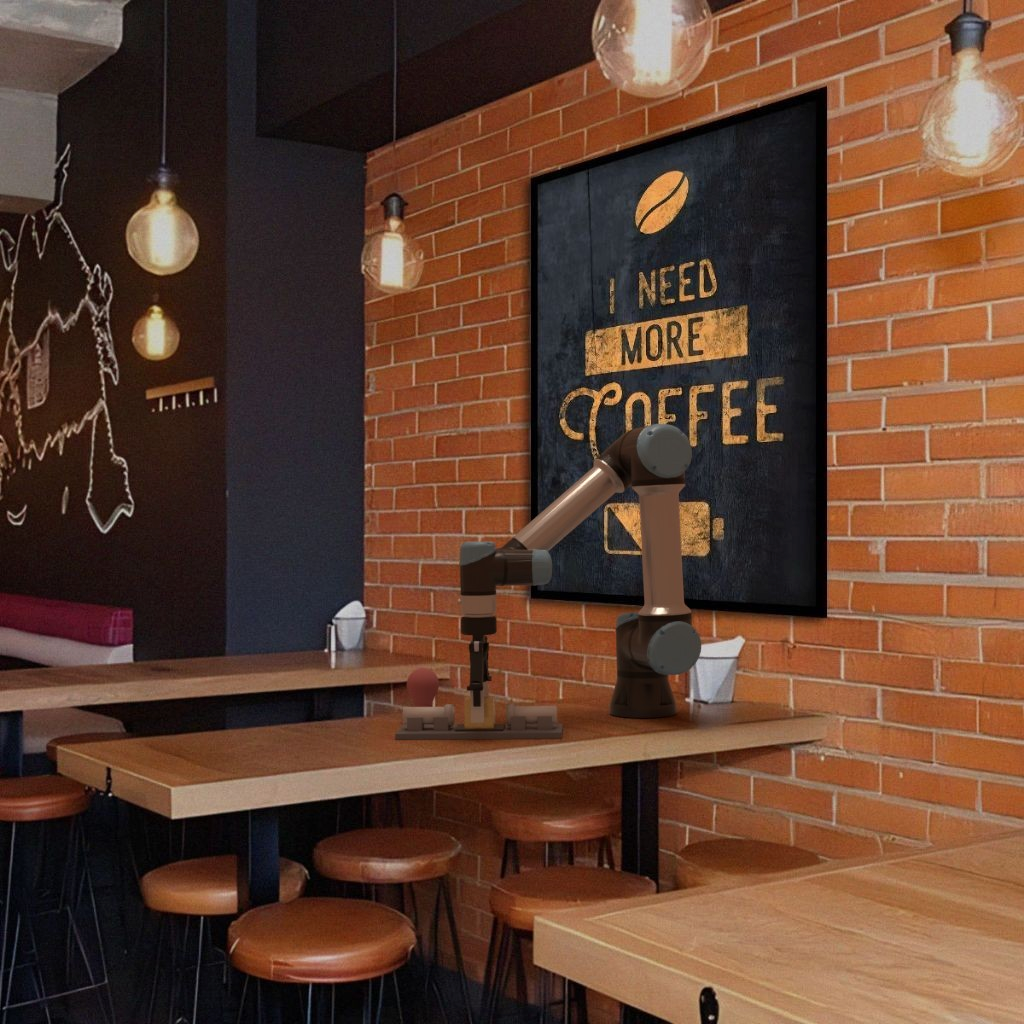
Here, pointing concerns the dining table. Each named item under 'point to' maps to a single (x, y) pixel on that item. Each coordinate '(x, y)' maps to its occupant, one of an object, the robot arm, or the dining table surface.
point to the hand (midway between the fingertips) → (480, 717)
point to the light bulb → (422, 687)
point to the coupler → (488, 713)
